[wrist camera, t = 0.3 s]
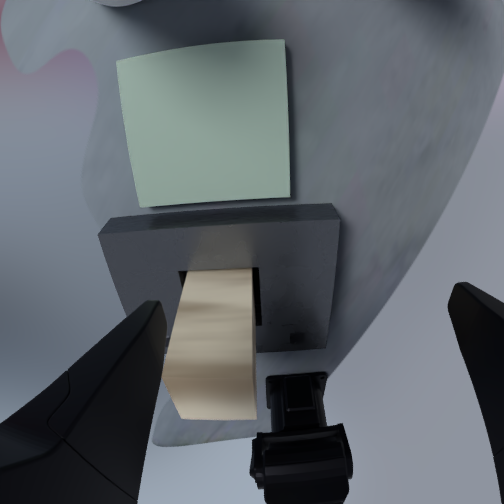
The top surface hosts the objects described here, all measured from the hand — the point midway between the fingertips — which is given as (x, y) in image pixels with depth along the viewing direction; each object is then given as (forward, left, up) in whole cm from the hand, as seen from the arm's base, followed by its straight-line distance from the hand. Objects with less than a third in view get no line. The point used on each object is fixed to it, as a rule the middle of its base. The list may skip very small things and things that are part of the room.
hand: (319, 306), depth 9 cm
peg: (-9, +5, -13) cm, 17 cm away
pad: (+3, +5, -13) cm, 14 cm away
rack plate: (-9, +5, -13) cm, 17 cm away
